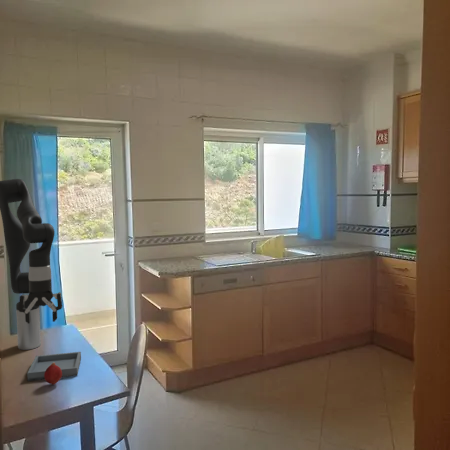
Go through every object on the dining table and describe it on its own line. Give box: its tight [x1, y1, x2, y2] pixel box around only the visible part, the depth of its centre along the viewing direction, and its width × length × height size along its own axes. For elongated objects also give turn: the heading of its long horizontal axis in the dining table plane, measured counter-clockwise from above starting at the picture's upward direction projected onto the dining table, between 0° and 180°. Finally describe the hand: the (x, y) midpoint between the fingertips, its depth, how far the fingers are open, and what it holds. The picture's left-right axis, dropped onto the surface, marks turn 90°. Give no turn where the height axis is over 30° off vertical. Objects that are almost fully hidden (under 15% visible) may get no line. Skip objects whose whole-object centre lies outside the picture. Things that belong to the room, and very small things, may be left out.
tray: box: [26, 351, 82, 382], centre depth 161 cm, size 17×17×3 cm
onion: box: [44, 362, 63, 386], centre depth 148 cm, size 6×6×8 cm
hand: (41, 322), depth 153 cm, fingers open, 8 cm apart
